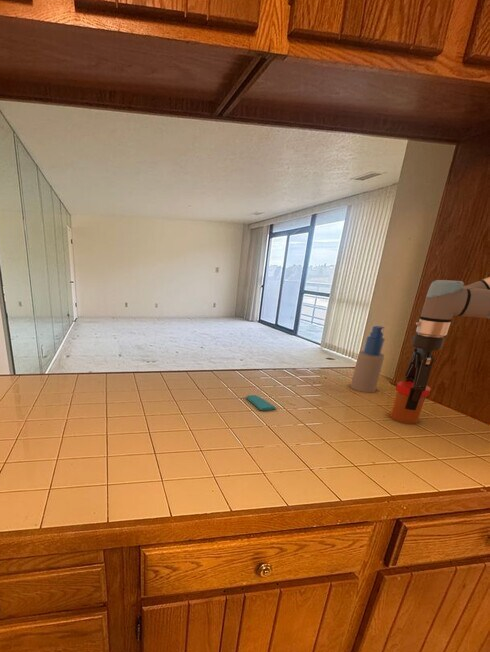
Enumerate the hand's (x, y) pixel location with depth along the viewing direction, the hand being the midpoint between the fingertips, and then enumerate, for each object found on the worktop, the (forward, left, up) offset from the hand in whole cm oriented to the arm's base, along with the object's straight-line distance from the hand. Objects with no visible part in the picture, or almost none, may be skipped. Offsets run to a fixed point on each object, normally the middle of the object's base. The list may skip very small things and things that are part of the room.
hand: (407, 403), depth 112 cm
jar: (0, 0, -5) cm, 5 cm away
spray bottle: (+26, -12, -5) cm, 29 cm away
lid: (0, 0, +6) cm, 6 cm away
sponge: (+26, +38, -5) cm, 46 cm away
